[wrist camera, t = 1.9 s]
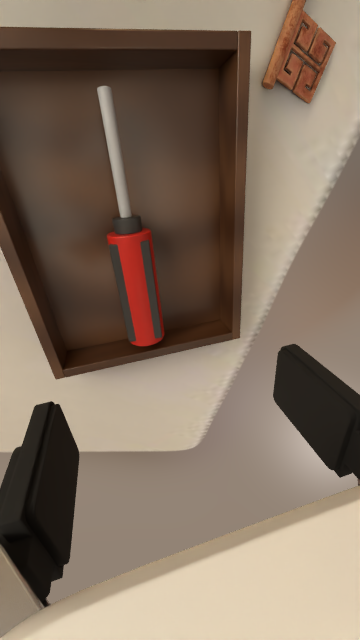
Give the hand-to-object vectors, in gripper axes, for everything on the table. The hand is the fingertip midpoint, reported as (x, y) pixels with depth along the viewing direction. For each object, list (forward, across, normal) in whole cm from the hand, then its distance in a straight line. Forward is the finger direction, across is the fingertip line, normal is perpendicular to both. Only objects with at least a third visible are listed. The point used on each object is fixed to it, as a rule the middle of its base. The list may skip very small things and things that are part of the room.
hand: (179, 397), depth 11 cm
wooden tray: (+14, 0, -5) cm, 15 cm away
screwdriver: (+14, 0, -5) cm, 14 cm away
